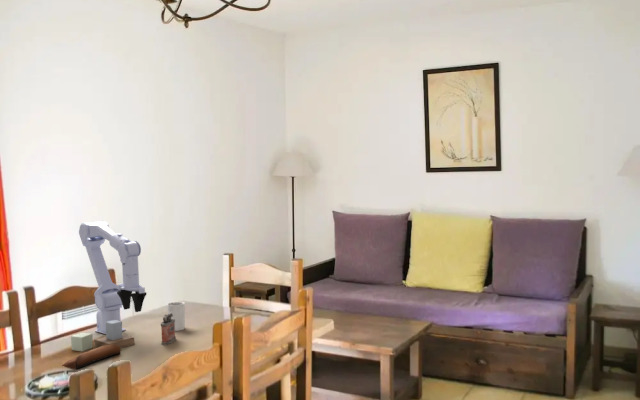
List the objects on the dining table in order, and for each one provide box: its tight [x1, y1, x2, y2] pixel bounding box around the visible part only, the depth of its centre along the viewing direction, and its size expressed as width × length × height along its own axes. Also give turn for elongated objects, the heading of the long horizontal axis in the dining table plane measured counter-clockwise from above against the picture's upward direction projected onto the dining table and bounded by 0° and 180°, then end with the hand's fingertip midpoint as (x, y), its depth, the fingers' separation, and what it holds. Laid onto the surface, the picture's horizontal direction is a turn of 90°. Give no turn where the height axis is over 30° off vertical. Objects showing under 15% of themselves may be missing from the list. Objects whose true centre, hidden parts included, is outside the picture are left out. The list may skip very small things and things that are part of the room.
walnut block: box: [93, 333, 135, 349], centre depth 223 cm, size 10×10×3 cm
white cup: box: [166, 301, 186, 332], centre depth 242 cm, size 7×7×10 cm
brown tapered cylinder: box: [61, 344, 122, 370], centre depth 205 cm, size 18×7×7 cm
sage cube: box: [70, 332, 94, 352], centre depth 219 cm, size 5×5×5 cm
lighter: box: [160, 313, 177, 346], centre depth 225 cm, size 8×3×10 cm, turn 168°
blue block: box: [105, 320, 123, 340], centre depth 222 cm, size 4×4×6 cm
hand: (132, 310), depth 231 cm, fingers open, 7 cm apart
